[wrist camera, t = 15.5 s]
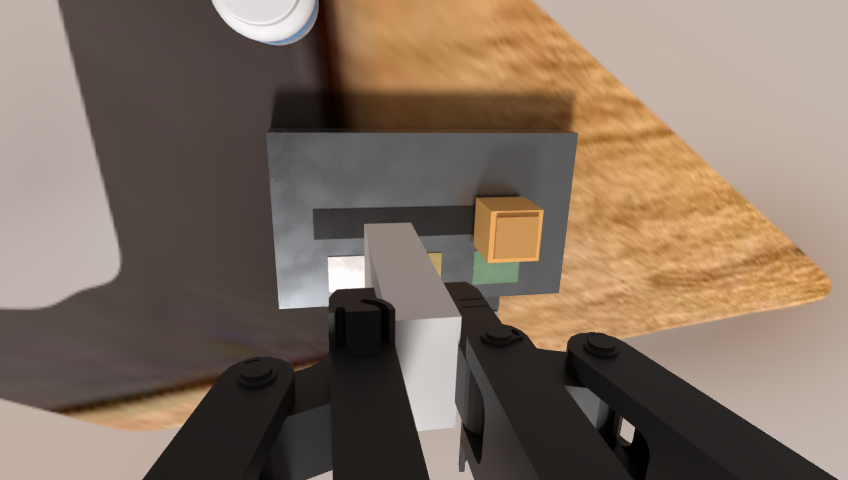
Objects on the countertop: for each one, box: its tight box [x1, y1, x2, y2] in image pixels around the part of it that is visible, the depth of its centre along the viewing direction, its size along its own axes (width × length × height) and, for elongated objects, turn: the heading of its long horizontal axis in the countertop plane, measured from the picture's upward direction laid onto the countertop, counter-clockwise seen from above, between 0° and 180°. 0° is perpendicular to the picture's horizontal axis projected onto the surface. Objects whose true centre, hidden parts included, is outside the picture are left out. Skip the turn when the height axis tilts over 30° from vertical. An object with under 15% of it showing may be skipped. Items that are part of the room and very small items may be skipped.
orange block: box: [473, 197, 544, 263], centre depth 40 cm, size 4×4×4 cm
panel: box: [266, 128, 578, 309], centre depth 43 cm, size 24×14×3 cm, turn 89°
